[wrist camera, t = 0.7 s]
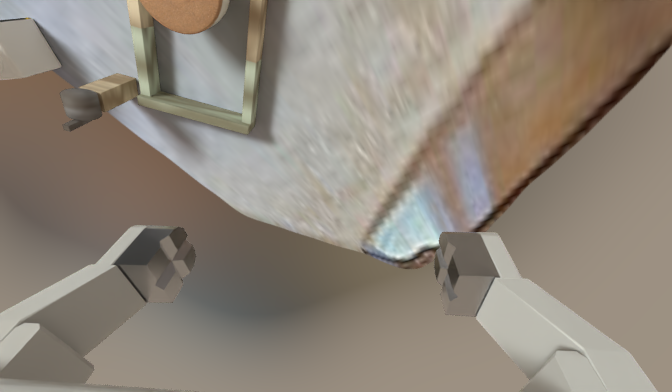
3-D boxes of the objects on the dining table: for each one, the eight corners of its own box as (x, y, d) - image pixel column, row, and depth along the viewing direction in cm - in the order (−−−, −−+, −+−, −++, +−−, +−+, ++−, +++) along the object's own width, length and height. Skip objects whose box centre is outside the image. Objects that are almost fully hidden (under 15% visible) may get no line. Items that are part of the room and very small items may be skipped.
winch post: (114, 72, 47) (41, 98, 37) (138, 79, 48) (74, 106, 37) (118, 96, 50) (51, 126, 39) (142, 102, 50) (82, 134, 39)
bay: (129, -90, 35) (106, -97, 32) (271, -42, 37) (263, -44, 34) (152, 97, 50) (138, 104, 46) (254, 125, 51) (247, 134, 48)
